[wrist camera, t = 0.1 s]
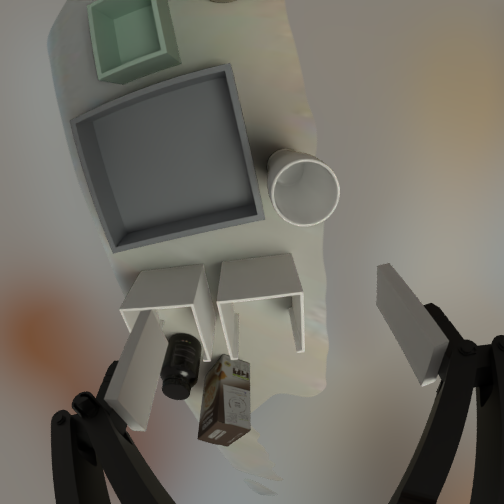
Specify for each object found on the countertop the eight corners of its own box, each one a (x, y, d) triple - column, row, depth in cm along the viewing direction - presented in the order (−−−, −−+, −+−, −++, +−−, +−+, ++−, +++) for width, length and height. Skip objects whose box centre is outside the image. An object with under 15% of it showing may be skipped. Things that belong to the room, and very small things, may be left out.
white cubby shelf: (291, 252, 46) (303, 291, 36) (294, 308, 51) (304, 351, 41) (141, 270, 47) (119, 309, 37) (159, 321, 52) (144, 363, 42)
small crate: (111, 19, 28) (86, 5, 21) (167, -2, 28) (151, -23, 21) (123, 84, 34) (98, 80, 26) (181, 63, 33) (167, 52, 26)
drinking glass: (251, 169, 40) (254, 198, 26) (283, 133, 38) (303, 142, 24) (287, 198, 42) (307, 241, 28) (318, 164, 40) (354, 191, 26)
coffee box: (222, 352, 55) (217, 420, 41) (250, 363, 57) (252, 429, 42) (204, 377, 59) (196, 439, 44) (230, 386, 60) (228, 447, 46)
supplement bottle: (198, 360, 56) (191, 407, 45) (166, 351, 55) (154, 397, 44) (205, 337, 53) (198, 386, 43) (170, 328, 52) (157, 376, 42)
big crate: (90, 118, 35) (69, 120, 30) (232, 70, 34) (230, 63, 28) (127, 236, 44) (113, 253, 39) (262, 205, 42) (265, 219, 37)
